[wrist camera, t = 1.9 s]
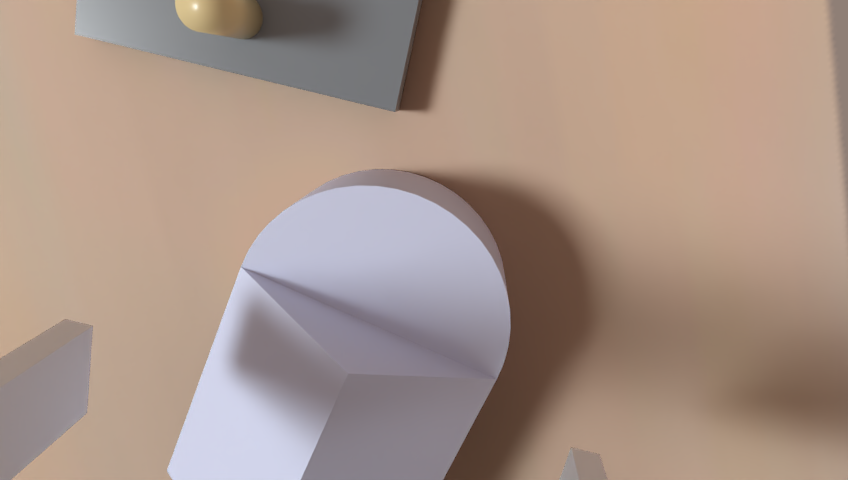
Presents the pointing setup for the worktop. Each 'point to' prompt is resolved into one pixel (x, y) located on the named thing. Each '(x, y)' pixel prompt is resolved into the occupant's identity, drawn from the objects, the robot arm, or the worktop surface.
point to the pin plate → (273, 40)
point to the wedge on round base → (353, 339)
